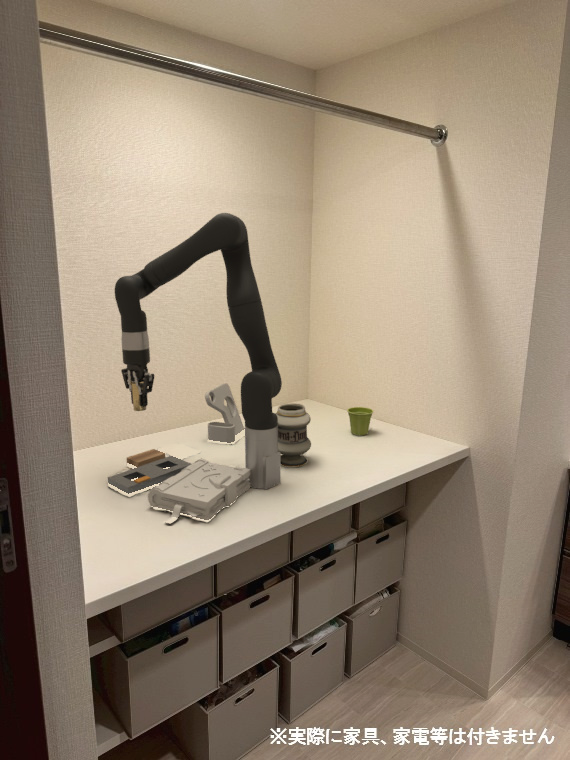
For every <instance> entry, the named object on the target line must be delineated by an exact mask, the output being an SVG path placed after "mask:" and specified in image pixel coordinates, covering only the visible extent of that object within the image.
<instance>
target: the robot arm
mask: <svg viewBox="0 0 570 760" xmlns="http://www.w3.org/2000/svg"><path fill="white" fill-rule="evenodd" d="M218 251H220V253H221V255H222V258H223V259H222V260H223V262H224V263H223V264H224V265H225V271H226V302H227V308H228V313H229V318H230V321H231V325H232V327H233V329H234V331H235V333H236V334H237V336H238V338H239V340H241V342H242V345H244V347H245V349H246V351H247V354H248V356H249V361H250V362H249V363H250V366H251V371H250V372H247V373H246V374H245V375H244V376H243V378H242V379H241V383H240V403H241V414H242V418H243V420H244V428H245V436H244V449H245V450H244V457H245V458H244V460H245V461H244V462H245V467H244V468H247V469H251V474H250V476H249V477H248V478H249V480H247V481H246V482H249V483H250V485H251V488H254V489H263V490H269V489H270V488H273V487H276V486H277V485H278V484H281V466H282V465H281V455H282V454H281V453H280V452H279V451H278V417H277V415H276V414H275V413H276V412H273V401H272V399H274V398H275V397H277V396H278V394H279V393H280V391H281V389H282V384H283V382H282V377H281V374H280V370H279V367H278V364H277V360H276V358H275V356H274V352H273V349H272V345H271V339H270V336H269V330H268V327H267V326H268V325H267V322H266V321H267V320H266V318H265V311H264V307H263V302H262V298H261V294H260V291H259V287H258V282H257V279H256V276H255V272H254V269H253V264H252V260H251V251H250V243H249V236H248V229H247V226H246V224H245V222H244V221H243V220H242V218H240V217H239V216H237V215H234V214H232V213H229V212H221V213H218V214H215V216H213V217H212V218H211V219H210V220H208V221H207V222H206V223H205V224H204V225H203V226H202V227H201V228H199V229H198V230H196V232H195V233H193V234H192V235H191V236H189V237H188V238H187V239H185V240H184V241H182V242H180V243H179V244H178V245H176V246H174V247H173V248H171V249H169V250H168V251H166V252H165V253H163V254H161V255H159V256H158V257H155V259H153V260H151V261H149V262H148V263H147V264H145V266H144V268H142V269H141V270H140V271H138V272H136V273H134V274H131V275H124V276H121V277H119V278H118V279H117V281H116V282H115V285H114V297H115V302H116V306H117V308H118V312H119V315H120V327H121V339H120V340H121V350H122V351H121V352H122V363H123V364H124V365H125V366H126V367H125V368H121V374H122V378H123V383H124V385H125V389H126V390H128V391H129V392H130V396H131V397H130V400H131V404H132V405H133V393H132V383H133V382H135V383H136V386H137V387H138V390H139V402H140V406H141V407H145V406H146V407H147V406H148V404H149V403H148V393H149V394H150V393H152V391H153V388H154V387H153V386H154V382H155V381H154V380H155V374H154V373H150V372H149V369H148V364H149V363H150V362H151V355H150V354H151V353H150V340H149V339H150V337H149V334H148V322H147V321H148V319H147V315H146V312H145V311H144V310H142V306H141V301H140V300H143V299H144V298H146V297H148V296H149V295H151V294H152V293H153V292H155V291H156V290H158V288H160V287H162V286H163V285H166V284H167V283H169V282H172V281H173V280H174V279H176V278H178V277H179V276H181V275H182V274H183V273H185V272H186V271H187V270H189V268H190V267H192V266H193V265H194V264H196V262H198V261H199V260H201V259H202V258H204V257H206V256H208V255H211V254H213V253H215V252H218ZM139 382H144V383H139ZM142 386H143V389H142Z"/></svg>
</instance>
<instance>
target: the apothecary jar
mask: <svg viewBox="0 0 570 760" xmlns="http://www.w3.org/2000/svg"><path fill="white" fill-rule="evenodd" d="M274 413H275V414H276V415H277V417H278V451H279V452H280V453H281V466H282V467H287V468H298V467H302V466H304V465H306V464H307V463H308V459H307V457H305V455H304V454H306V453H307V452H308V451H310V450H311V448H312V441H311V439H310V438H309V437H308V431H307V430H308V429H307V428H308V427H307V426H308V425H309V424H310V423H311V419H312V418H311V416H310V414H309V413H308V412H307V411H306V406H305V405H303V404H301V403H295V402H294V403H293V402H292V403H291V402H289V403H282V404H280V405H278V406H277V411H276V412H274Z"/></svg>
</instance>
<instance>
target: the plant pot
mask: <svg viewBox="0 0 570 760" xmlns="http://www.w3.org/2000/svg"><path fill="white" fill-rule="evenodd" d="M346 412H347V413H348V416H349V427H350V433H351V434H352V435H355V436H365V435H369V429H370V423H371V418H372V415H373V414H374V410H373V409H372V408H369V407H365V406H364V407H363V406H355V407H349V408H347V410H346Z"/></svg>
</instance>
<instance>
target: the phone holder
mask: <svg viewBox="0 0 570 760" xmlns="http://www.w3.org/2000/svg"><path fill="white" fill-rule="evenodd" d="M204 399H205V403H206V404H207V406H208V407H210V408H212V409H213V410H215V411H217V412H219V413H220V414H221V416H222V418H223V421H224V422H220V421H210V422H209V423H208V424H207V439H209V440H213V441H220V442H227V443H231V442H234V441H235V435H237V434H238V433H240V432H241V431H242V430H244V429H245V425H244V424H243V421H242V418H241V416H240V413H239V410H238V407H237V403H236V401H235V398H234V395H233V393H232V390H231V388H230V385H229V384H228V383H221V384H220V385H218V386H216V387H214V388H213V389H210V390H209V391H207V392H205V393H204ZM225 401H226V405H225Z"/></svg>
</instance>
